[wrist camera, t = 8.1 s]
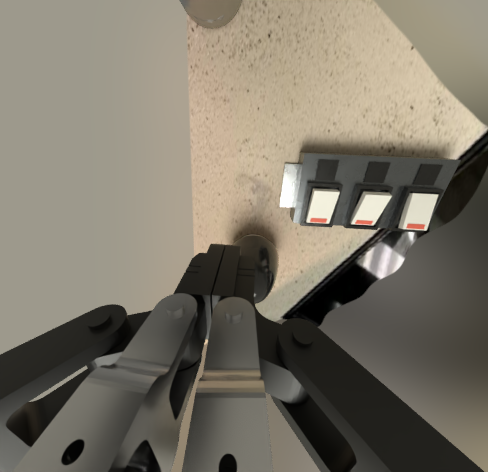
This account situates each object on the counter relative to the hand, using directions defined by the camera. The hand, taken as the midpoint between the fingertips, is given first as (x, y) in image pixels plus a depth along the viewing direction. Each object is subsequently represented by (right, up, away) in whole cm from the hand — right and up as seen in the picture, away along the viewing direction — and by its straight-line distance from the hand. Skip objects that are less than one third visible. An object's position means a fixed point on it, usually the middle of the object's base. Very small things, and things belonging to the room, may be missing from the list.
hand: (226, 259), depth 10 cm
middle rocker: (+22, +6, +23) cm, 32 cm away
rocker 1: (+14, +6, +23) cm, 28 cm away
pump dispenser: (+3, -1, +33) cm, 33 cm away
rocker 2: (+30, +5, +22) cm, 38 cm away
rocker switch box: (+23, +10, +26) cm, 36 cm away
